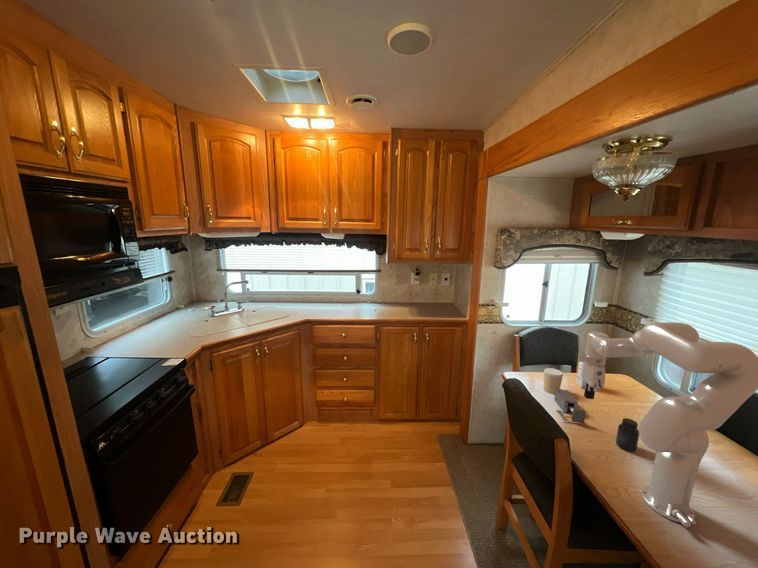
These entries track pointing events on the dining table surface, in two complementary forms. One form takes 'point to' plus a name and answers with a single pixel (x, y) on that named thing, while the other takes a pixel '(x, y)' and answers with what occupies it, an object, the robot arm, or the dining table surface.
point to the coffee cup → (552, 380)
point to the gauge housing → (564, 402)
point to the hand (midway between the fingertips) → (588, 397)
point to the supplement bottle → (627, 435)
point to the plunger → (576, 414)
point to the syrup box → (579, 378)
